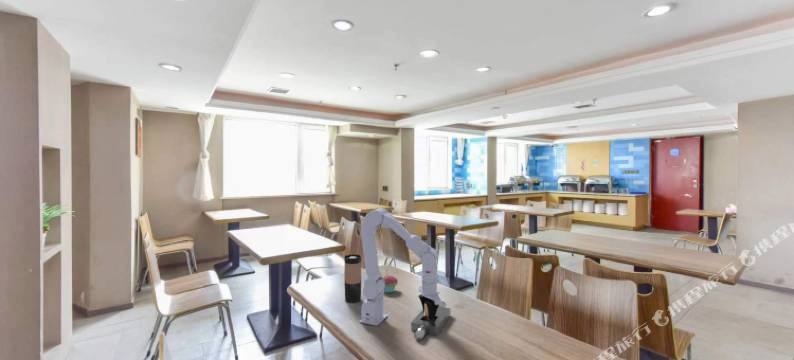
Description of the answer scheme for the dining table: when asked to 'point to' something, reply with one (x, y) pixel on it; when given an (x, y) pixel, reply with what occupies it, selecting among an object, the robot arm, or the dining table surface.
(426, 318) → the cylinder
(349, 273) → the travel mug
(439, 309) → the junction block
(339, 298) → the dining table surface
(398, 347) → the dining table surface
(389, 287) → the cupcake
